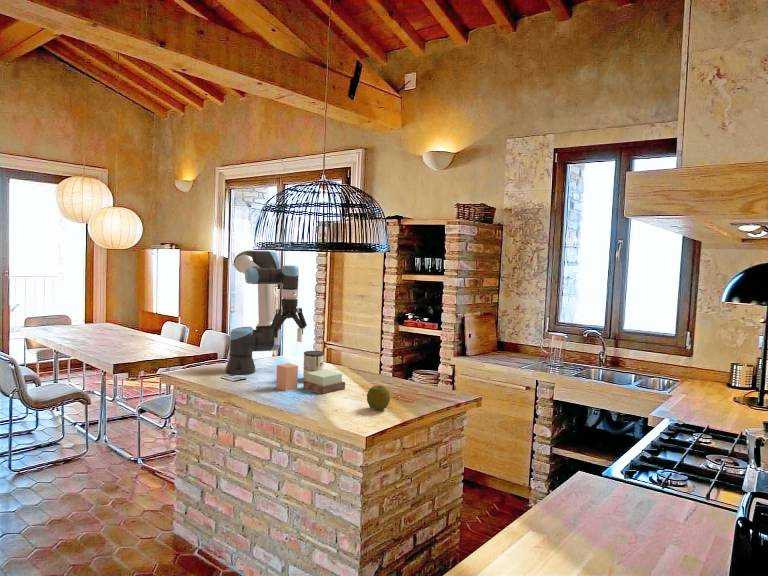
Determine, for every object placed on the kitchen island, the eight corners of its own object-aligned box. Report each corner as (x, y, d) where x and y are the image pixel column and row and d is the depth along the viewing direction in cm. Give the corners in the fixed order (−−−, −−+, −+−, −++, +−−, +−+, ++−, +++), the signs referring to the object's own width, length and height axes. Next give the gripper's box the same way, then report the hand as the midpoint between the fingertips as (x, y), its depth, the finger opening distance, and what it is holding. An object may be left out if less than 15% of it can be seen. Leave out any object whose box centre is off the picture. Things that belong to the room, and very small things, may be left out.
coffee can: (305, 376, 295) (306, 350, 294) (325, 378, 294) (326, 351, 293) (300, 381, 285) (301, 353, 284) (320, 382, 284) (321, 354, 283)
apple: (361, 407, 243) (362, 382, 242) (380, 405, 248) (381, 380, 247) (375, 414, 234) (376, 387, 234) (394, 411, 240) (395, 385, 239)
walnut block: (303, 389, 271) (303, 381, 271) (324, 384, 282) (325, 376, 282) (323, 395, 262) (323, 386, 262) (344, 390, 273) (345, 382, 272)
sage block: (306, 381, 271) (306, 372, 271) (324, 377, 280) (325, 369, 280) (322, 385, 263) (323, 377, 263) (341, 382, 272) (341, 373, 272)
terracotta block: (276, 387, 270) (276, 365, 269) (287, 385, 275) (288, 363, 274) (285, 390, 265) (286, 367, 265) (297, 388, 271) (298, 365, 270)
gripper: (273, 300, 255) (271, 346, 257) (315, 298, 274) (313, 341, 276) (263, 298, 260) (261, 344, 262) (304, 296, 279) (303, 339, 280)
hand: (288, 343), depth 269 cm, fingers open, 13 cm apart
